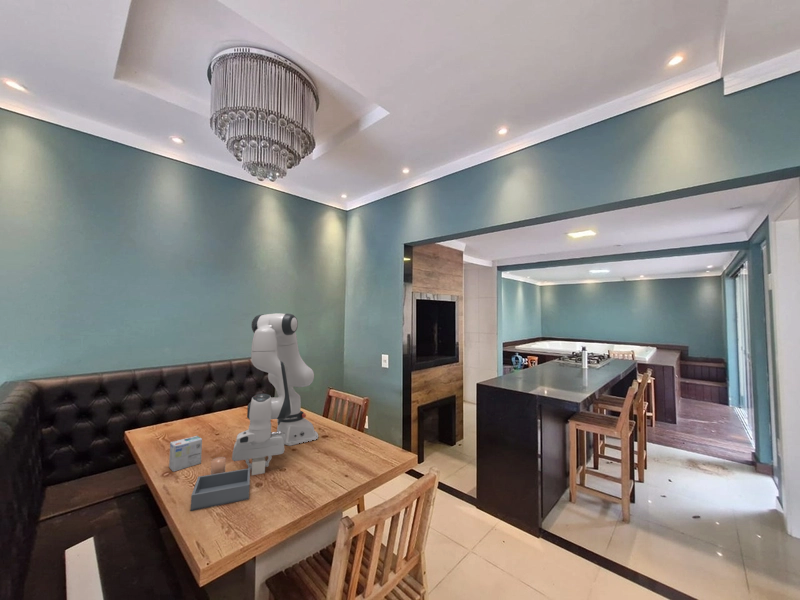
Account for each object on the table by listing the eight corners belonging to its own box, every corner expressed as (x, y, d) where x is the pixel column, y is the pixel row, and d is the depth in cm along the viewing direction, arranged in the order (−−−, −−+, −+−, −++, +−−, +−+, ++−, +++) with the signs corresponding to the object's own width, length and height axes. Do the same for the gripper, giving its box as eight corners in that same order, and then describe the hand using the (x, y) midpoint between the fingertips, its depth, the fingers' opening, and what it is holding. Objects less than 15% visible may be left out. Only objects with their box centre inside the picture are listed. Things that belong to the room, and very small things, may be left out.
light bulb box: (196, 459, 142) (197, 434, 143) (201, 463, 138) (203, 438, 139) (168, 467, 134) (169, 441, 135) (172, 472, 130) (174, 445, 131)
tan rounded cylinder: (225, 473, 130) (226, 456, 130) (224, 479, 125) (225, 461, 126) (211, 475, 128) (212, 458, 128) (209, 481, 123) (210, 463, 124)
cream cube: (264, 467, 135) (265, 455, 136) (264, 473, 131) (265, 460, 131) (251, 469, 133) (252, 457, 133) (251, 475, 129) (252, 462, 129)
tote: (249, 481, 124) (250, 468, 124) (248, 499, 112) (249, 484, 112) (197, 490, 117) (198, 476, 117) (190, 511, 104) (191, 495, 105)
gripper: (285, 428, 140) (283, 460, 139) (233, 434, 132) (231, 468, 131) (286, 433, 134) (285, 466, 134) (232, 440, 126) (230, 475, 125)
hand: (258, 467), depth 132 cm, fingers closed on cream cube, 5 cm apart
